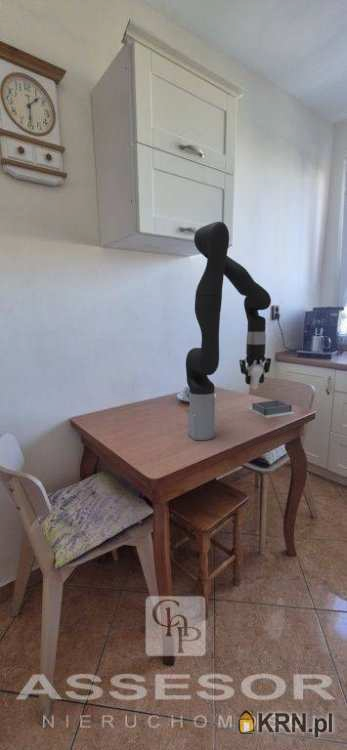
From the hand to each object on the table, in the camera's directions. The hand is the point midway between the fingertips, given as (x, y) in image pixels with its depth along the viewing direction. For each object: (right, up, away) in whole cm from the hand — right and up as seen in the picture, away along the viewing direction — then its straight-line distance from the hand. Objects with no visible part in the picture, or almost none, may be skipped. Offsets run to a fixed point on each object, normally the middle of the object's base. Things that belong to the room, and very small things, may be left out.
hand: (254, 383), depth 132 cm
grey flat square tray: (+12, -13, +15) cm, 23 cm away
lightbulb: (0, -3, +1) cm, 3 cm away
